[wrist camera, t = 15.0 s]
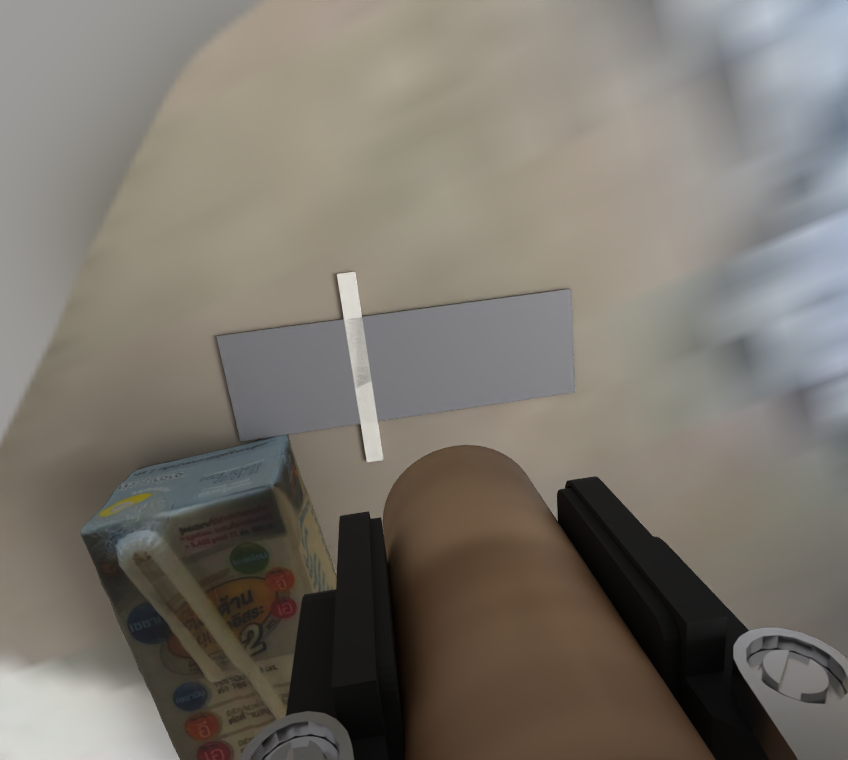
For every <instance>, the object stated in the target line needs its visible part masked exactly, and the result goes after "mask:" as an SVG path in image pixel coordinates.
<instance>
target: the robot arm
mask: <svg viewBox="0 0 848 760" xmlns="http://www.w3.org/2000/svg"><path fill="white" fill-rule="evenodd" d="M557 508H558V523H559V524H560V526H561V527H562V529H563V530H564V532H565V533H566V535H567V536H568V538H569V539H570V541H571V542H572V544H573V545H574V547H575V548H576V550H577V551H578V553H579V554H580V556H581V557H582V559H583V560H584V562H585V563H586V565H587V566H588V568H589V569H590V571H591V572H592V574H593V575H594V577H595V578H596V580H597V581H598V583H599V584H600V586H601V587H602V589H603V590H604V592H605V593H606V595H607V596H608V598H609V599H610V601H611V602H612V604H613V606H614V607H615V609H616V610H617V612H618V613H619V615H620V616H621V618H622V619H623V621H624V622H625V624H626V625H627V627H628V628H629V630H630V631H631V633H632V634H633V636H634V637H635V639H636V640H637V642H638V643H639V645H640V646H641V648H642V649H643V651H644V652H645V654H646V655H647V657H648V658H649V660H650V661H651V663H652V664H653V666H654V667H655V669H656V670H657V672H658V673H659V675H660V676H661V678H662V679H663V681H664V682H665V684H666V685H667V687H668V688H669V690H670V691H671V693H672V694H673V696H674V697H675V699H676V700H677V702H678V703H679V705H680V706H681V708H682V709H683V711H684V712H685V714H686V715H687V717H688V718H689V720H690V721H691V723H692V724H693V726H694V727H695V729H696V730H697V732H698V733H699V735H700V736H701V738H702V740H703V741H704V743H705V744H706V746H707V747H708V749H709V750H710V752H711V753H712V755H713V756H714V758H715V759H716V760H848V659H847V658H846V657H844V656H843V655H842V654H841V653H840V652H839V651H837V650H836V649H834V648H833V647H831V646H829V645H827V644H826V643H824V642H822V641H821V640H819V639H816V638H814V637H811V636H809V635H806V634H804V633H801V632H797V631H793V630H788V629H784V628H767V627H764V628H759V629H754V630H748V629H747V628H746V627H745V626H744V625H743V624H742V623H741V622H740V621H739V620H738V619H737V617H736V616H735V615H734V614H733V613H732V612H731V611H730V610H729V609H728V608H727V607H726V606H725V605H724V604H723V603H722V602H721V601H720V600H719V599H718V597H717V596H716V595H715V594H714V593H713V592H712V591H711V590H710V589H709V588H708V587H707V586H706V585H705V584H704V583H703V582H702V581H701V580H700V579H699V577H698V576H697V575H696V574H695V573H694V572H693V571H692V570H691V569H690V568H689V567H688V566H687V565H686V564H685V563H684V562H683V561H682V560H681V559H680V557H679V556H678V555H677V554H676V553H675V552H674V551H673V550H672V549H671V548H670V547H669V546H668V545H667V544H666V543H665V542H664V541H663V540H662V539H660V538H659V537H653V536H652V535H651V534H650V533H649V532H648V530H647V529H646V528H645V527H644V526H643V525H642V524H641V523H640V522H639V521H638V520H637V519H636V518H635V516H634V515H633V514H632V513H631V512H630V511H629V510H628V509H627V508H626V507H625V506H624V505H623V504H622V503H621V501H620V500H619V499H618V498H617V497H616V496H615V495H614V494H613V493H612V492H611V491H610V490H609V489H608V487H607V486H606V485H605V484H604V483H603V482H602V481H601V480H600V479H599V478H598V477H589V478H582V479H576V480H569V481H567V482H566V486H565V489H560V490H558V493H557ZM238 760H405V739H404V729H403V718H402V708H401V697H400V687H399V677H398V666H397V656H396V645H395V635H394V624H393V614H392V603H391V593H390V582H389V572H388V562H387V555H386V548H385V541H384V534H383V527H382V520H381V518H374V519H370V514H369V512H362V513H356V514H349V515H343V516H340V522H339V542H338V562H337V583H336V589H334V590H328V591H322V592H316V593H310V594H304V596H303V598H302V602H301V609H300V617H299V624H298V631H297V638H296V646H295V653H294V660H293V667H292V675H291V682H290V689H289V696H288V704H287V711H286V716H285V717H283V718H281V719H278V720H276V721H274V722H273V723H271V724H270V725H268V726H267V727H266V728H264V729H263V730H261V731H260V732H259V733H258V734H257V735H256V736H255V737H254V738H253V739H252V740H251V741H250V742H249V744H248V745H247V746H246V747H245V749H244V750H243V752H242V754H241V756H240V758H239V759H238Z"/></svg>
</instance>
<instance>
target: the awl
mask: <svg viewBox="0 0 848 760" xmlns="http://www.w3.org/2000/svg"><path fill="white" fill-rule="evenodd" d="M383 530H384V541H385V548H386V555H387V562H388V572H389V582H390V593H391V603H392V614H393V624H394V635H395V645H396V656H397V666H398V677H399V687H400V697H401V708H402V718H403V729H404V739H405V760H716V759H715V758H714V756H713V755H712V753H711V752H710V750H709V749H708V747H707V746H706V744H705V743H704V741H703V740H702V738H701V736H700V735H699V733H698V732H697V730H696V729H695V727H694V726H693V724H692V723H691V721H690V720H689V718H688V717H687V715H686V714H685V712H684V711H683V709H682V708H681V706H680V705H679V703H678V702H677V700H676V699H675V697H674V696H673V694H672V693H671V691H670V690H669V688H668V687H667V685H666V684H665V682H664V681H663V679H662V678H661V676H660V675H659V673H658V672H657V670H656V669H655V667H654V666H653V664H652V663H651V661H650V660H649V658H648V657H647V655H646V654H645V652H644V651H643V649H642V648H641V646H640V645H639V643H638V642H637V640H636V639H635V637H634V636H633V634H632V633H631V631H630V630H629V628H628V627H627V625H626V624H625V622H624V621H623V619H622V618H621V616H620V615H619V613H618V612H617V610H616V609H615V607H614V606H613V604H612V602H611V601H610V599H609V598H608V596H607V595H606V593H605V592H604V590H603V589H602V587H601V586H600V584H599V583H598V581H597V580H596V578H595V577H594V575H593V574H592V572H591V571H590V569H589V568H588V566H587V565H586V563H585V562H584V560H583V559H582V557H581V556H580V554H579V553H578V551H577V550H576V548H575V547H574V545H573V544H572V542H571V541H570V539H569V538H568V536H567V535H566V533H565V532H564V530H563V529H562V527H561V526H560V524H559V523H558V521H557V520H556V518H555V517H554V515H553V514H552V512H551V511H550V509H549V508H548V506H547V505H546V503H545V502H544V500H543V499H542V497H541V496H540V494H539V493H538V491H537V490H536V488H535V487H534V485H533V484H532V482H531V481H530V479H529V478H528V476H527V475H526V473H525V472H524V471H523V469H522V468H521V467H520V466H519V465H518V464H517V463H516V462H514V461H513V460H512V459H511V458H509V457H507V456H506V455H504V454H502V453H500V452H498V451H496V450H493V449H490V448H486V447H481V446H474V445H461V446H452V447H447V448H443V449H440V450H437V451H434V452H432V453H430V454H428V455H426V456H424V457H422V458H421V459H419V460H417V461H416V462H414V463H413V464H412V465H411V466H410V467H408V468H407V469H406V470H405V471H404V472H403V473H402V474H401V475H400V477H399V478H398V479H397V481H396V482H395V484H394V485H393V487H392V489H391V491H390V492H389V495H388V497H387V500H386V503H385V507H384V513H383Z"/></svg>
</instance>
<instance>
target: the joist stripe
mask: <svg viewBox="0 0 848 760" xmlns="http://www.w3.org/2000/svg"><path fill="white" fill-rule="evenodd" d="M337 278H338V285H339V291H340V297H341V303H342V310H343V316H344V319H338V320H331V321H323V322H316V323H308V324H301V325H293V326H286V327H278V328H271V329H263V330H256V331H248V332H241V333H233V334H226V335H219V336H216V337H217V342H218V346H219V350H220V355H221V359H222V363H223V368H224V372H225V376H226V381H227V385H228V389H229V394H230V398H231V402H232V407H233V411H234V416H235V420H236V424H237V429H238V433H239V437H240V442H241V441H247V440H254V439H261V438H268V437H275V436H281V435H288V434H295V433H302V432H309V431H315V430H322V429H329V428H336V427H343V426H350V425H356V424H361V429H362V435H363V441H364V447H365V454H366V460H367V462H373V461H380V460H383V453H382V446H381V440H380V433H379V426H378V421H384V420H390V419H397V418H404V417H411V416H418V415H424V414H431V413H438V412H445V411H452V410H459V409H465V408H472V407H479V406H486V405H493V404H499V403H506V402H513V401H520V400H527V399H533V398H540V397H547V396H554V395H561V394H567V393H574V392H575V380H574V354H573V328H572V302H571V289H563V290H556V291H548V292H541V293H533V294H526V295H518V296H511V297H503V298H496V299H488V300H481V301H473V302H466V303H458V304H451V305H443V306H436V307H428V308H421V309H413V310H406V311H398V312H391V313H383V314H376V315H368V316H362V313H361V306H360V300H359V293H358V286H357V280H356V273H355V272H347V273H339V274H337Z"/></svg>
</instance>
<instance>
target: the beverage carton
mask: <svg viewBox="0 0 848 760" xmlns="http://www.w3.org/2000/svg"><path fill="white" fill-rule="evenodd" d="M81 536H82V538H83V540H84V542H85V544H86V546H87V548H88V551H89V553H90V555H91V558H92V560H93V562H94V565H95V567H96V570H97V572H98V575H99V578H100V581H101V584H102V586H103V588H104V590H105V592H106V593H107V595H108V597H109V599H110V601H111V604H112V607H113V609H114V612H115V615H116V617H117V620H118V622H119V624H120V627H121V629H122V631H123V633H124V635H125V637H126V639H127V642H128V644H129V646H130V648H131V650H132V653H133V655H134V657H135V660H136V662H137V664H138V667H139V670H140V672H141V674H142V676H143V678H144V680H145V683H146V685H147V687H148V689H149V690H150V692H151V695H152V697H153V699H154V702H155V704H156V706H157V709H158V711H159V714H160V716H161V719H162V721H163V723H164V725H165V728H166V730H167V732H168V734H169V737H170V739H171V741H172V744H173V746H174V748H175V750H176V752H177V754H178V756H179V758H180V760H238V759H239V758H240V756H241V754H242V752H243V750H244V749H245V747H246V746H247V745H248V744H249V742H250V741H251V740H252V739H253V738H254V737H255V736H256V735H257V734H258V733H259V732H260V731H261V730H263V729H264V728H266V727H267V726H268V725H270V724H271V723H273V722H274V721H276V720H278V719H281V718H283V717H285V716H286V711H287V704H288V696H289V689H290V682H291V675H292V667H293V660H294V653H295V646H296V638H297V631H298V624H299V617H300V609H301V602H302V598H303V596H304V594H310V593H316V592H322V591H328V590H334V589H336V583H337V577H336V574H335V571H334V568H333V564H332V561H331V558H330V555H329V552H328V549H327V546H326V544H325V541H324V538H323V535H322V532H321V529H320V526H319V523H318V521H317V518H316V515H315V512H314V509H313V506H312V504H311V501H310V498H309V495H308V493H307V491H306V488H305V486H304V483H303V481H302V478H301V476H300V472H299V469H298V466H297V463H296V460H295V457H294V454H293V451H292V448H291V444H290V441H289V437H288V435H281V436H275V437H269V438H266V439H262V440H259V441H255V442H251V443H247V444H244V445H240V446H236V447H232V448H228V449H223V450H219V451H215V452H210V453H206V454H202V455H198V456H193V457H189V458H184V459H180V460H176V461H172V462H167V463H162V464H157V465H153V466H149V467H146V468H142V469H139V470H136V471H134V472H132V473H131V474H130V476H129V477H128V478H127V479H126V480H125V481H124V482H123V483H121V484H120V485H119V486H118V487H117V488H116V490H115V491H114V493H113V494H112V495H111V497H110V498H109V500H108V501H107V503H106V504H105V505H104V506H103V508H102V509H101V510H100V511H99V512H98V513H97V514H95V515H94V516H93V517H92V519H91V520H90V521H89V522H88V523H86V524H85V525H84V527H83V528H82V531H81Z"/></svg>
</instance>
